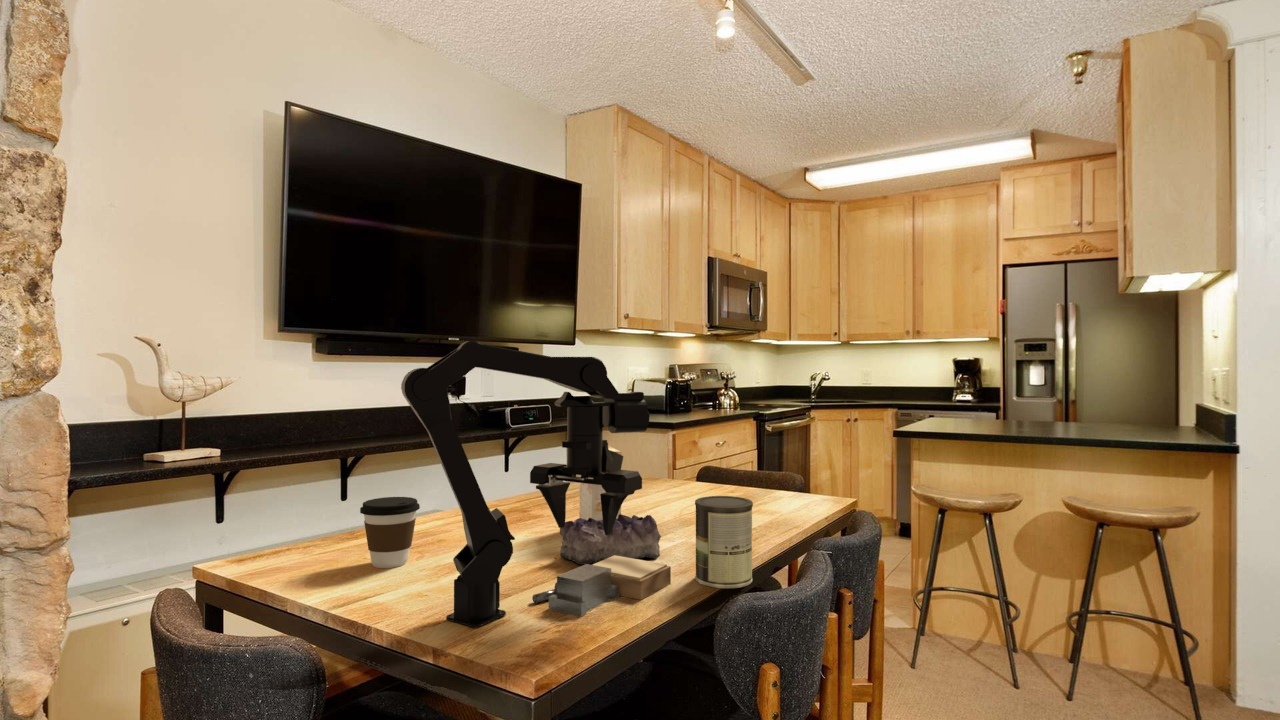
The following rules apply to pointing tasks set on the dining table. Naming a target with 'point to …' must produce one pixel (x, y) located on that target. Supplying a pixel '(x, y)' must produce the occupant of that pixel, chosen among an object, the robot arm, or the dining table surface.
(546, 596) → the bolt
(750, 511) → the coffee can
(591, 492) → the coffeecake box
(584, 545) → the geode
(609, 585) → the block
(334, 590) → the dining table surface
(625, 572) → the stand
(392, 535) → the coffee cup
